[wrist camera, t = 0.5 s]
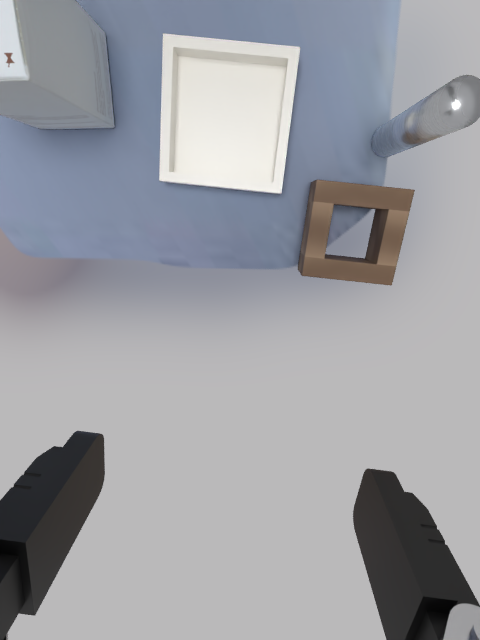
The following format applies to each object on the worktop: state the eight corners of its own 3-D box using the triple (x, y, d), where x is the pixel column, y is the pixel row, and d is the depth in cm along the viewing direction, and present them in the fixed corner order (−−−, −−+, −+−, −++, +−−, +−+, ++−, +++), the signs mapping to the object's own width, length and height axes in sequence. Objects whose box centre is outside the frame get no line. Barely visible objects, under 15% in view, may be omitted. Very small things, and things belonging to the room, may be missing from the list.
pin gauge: (374, 122, 30) (445, 72, 19) (404, 125, 30) (493, 77, 19) (368, 155, 31) (432, 126, 20) (397, 158, 31) (478, 131, 20)
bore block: (311, 182, 32) (317, 179, 29) (398, 191, 32) (414, 189, 29) (297, 269, 35) (301, 275, 31) (378, 277, 34) (391, 285, 31)
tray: (170, 47, 29) (163, 33, 27) (296, 59, 29) (300, 47, 27) (166, 182, 33) (159, 180, 30) (279, 194, 33) (281, 193, 30)
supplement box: (107, 30, 29) (3, -91, 17) (116, 130, 32) (29, 83, 20) (21, 32, 30) (-140, -87, 18) (36, 130, 32) (-97, 84, 20)
